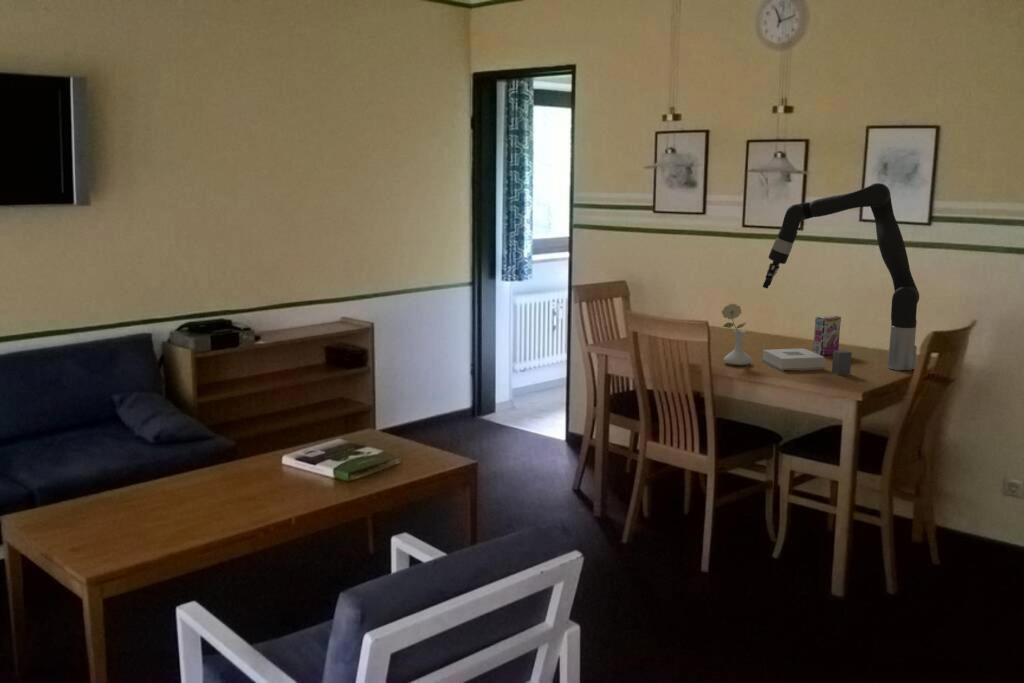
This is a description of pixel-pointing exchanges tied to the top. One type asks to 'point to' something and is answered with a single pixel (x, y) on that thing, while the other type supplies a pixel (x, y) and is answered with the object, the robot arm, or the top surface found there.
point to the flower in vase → (737, 354)
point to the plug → (841, 362)
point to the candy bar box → (826, 335)
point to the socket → (793, 359)
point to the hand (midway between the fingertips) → (766, 286)
